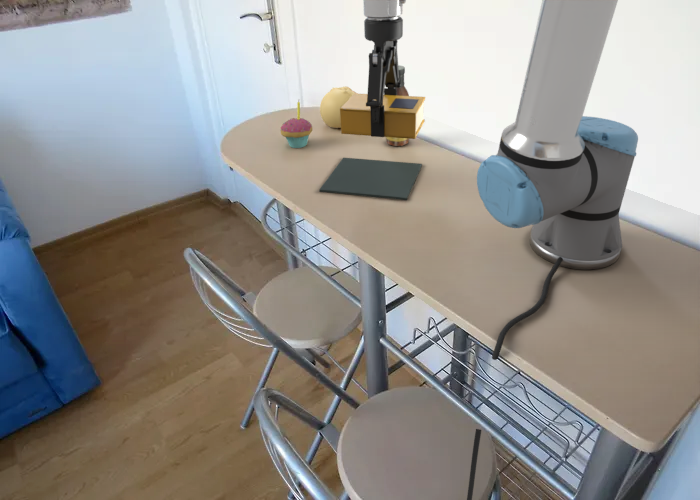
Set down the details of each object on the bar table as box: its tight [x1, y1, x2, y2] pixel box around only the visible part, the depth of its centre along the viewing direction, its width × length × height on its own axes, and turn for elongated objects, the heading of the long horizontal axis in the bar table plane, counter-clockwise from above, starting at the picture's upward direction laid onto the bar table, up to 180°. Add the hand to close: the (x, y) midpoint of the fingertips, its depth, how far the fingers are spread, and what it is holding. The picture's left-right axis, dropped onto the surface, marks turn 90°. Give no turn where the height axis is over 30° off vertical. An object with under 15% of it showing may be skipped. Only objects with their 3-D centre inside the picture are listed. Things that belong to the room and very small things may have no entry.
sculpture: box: [319, 86, 359, 129], centre depth 150 cm, size 12×12×11 cm
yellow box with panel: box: [340, 92, 426, 140], centre depth 112 cm, size 16×10×6 cm, turn 73°
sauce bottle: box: [385, 64, 410, 147], centre depth 134 cm, size 7×6×20 cm
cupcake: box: [280, 99, 313, 149], centre depth 138 cm, size 9×8×12 cm
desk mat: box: [318, 157, 423, 201], centre depth 122 cm, size 18×20×1 cm
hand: (384, 126), depth 113 cm, fingers closed on yellow box with panel, 10 cm apart
